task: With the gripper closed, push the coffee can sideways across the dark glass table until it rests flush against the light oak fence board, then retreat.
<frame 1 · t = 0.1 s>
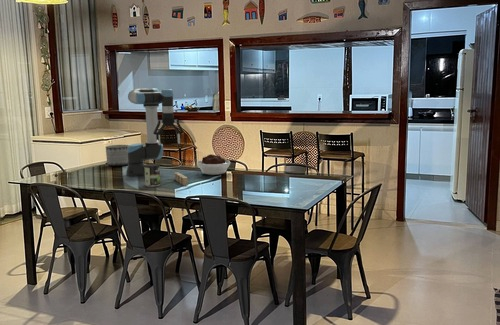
hand: (169, 144, 326), 28 cm above the table, fingers open, 13 cm apart
board: (181, 182, 339), on the table
planter: (118, 165, 411), on the table
bowl of brown food: (214, 174, 367), on the table
coffee can: (152, 185, 330), on the table
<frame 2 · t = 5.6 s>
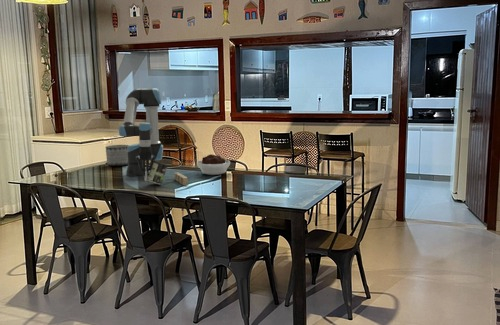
hand: (146, 180, 327), 4 cm above the table, fingers closed
coffee can: (153, 182, 330), point 2 cm above the table, touching gripper, hand
everything else where it was.
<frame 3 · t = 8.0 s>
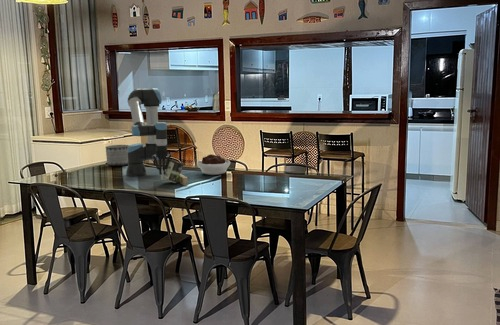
hand: (162, 179, 332), 4 cm above the table, fingers closed
coffee can: (169, 181, 334), point 2 cm above the table, touching board, gripper, hand
everything else where it was.
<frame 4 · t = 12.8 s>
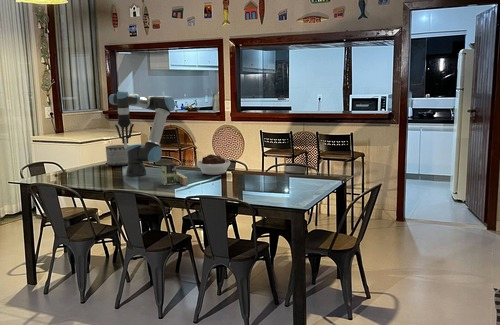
hand: (125, 148, 335), 24 cm above the table, fingers closed
coffee can: (169, 183, 335), on the table
everything else where it was.
at the end: coffee can inside the target area on the table beside the board (0.5 cm from its centre), on the table; coffee can tilted 0°; coffee can moved 11.5 cm from its start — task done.
